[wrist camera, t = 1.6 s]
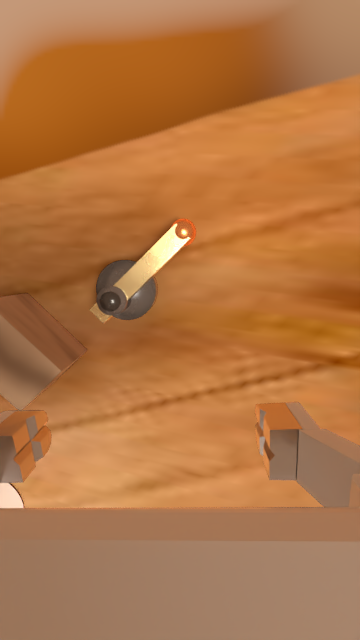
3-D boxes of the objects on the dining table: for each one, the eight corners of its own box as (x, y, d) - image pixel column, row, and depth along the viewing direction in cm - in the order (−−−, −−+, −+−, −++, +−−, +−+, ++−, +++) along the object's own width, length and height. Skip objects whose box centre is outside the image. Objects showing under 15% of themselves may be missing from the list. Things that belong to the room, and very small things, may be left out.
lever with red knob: (128, 329, 36) (116, 341, 30) (88, 290, 35) (68, 294, 29) (211, 250, 34) (217, 246, 28) (171, 205, 33) (168, 190, 26)
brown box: (53, 382, 38) (20, 411, 31) (-14, 321, 37) (-69, 335, 29) (87, 350, 37) (61, 371, 29) (19, 285, 35) (-28, 288, 28)
